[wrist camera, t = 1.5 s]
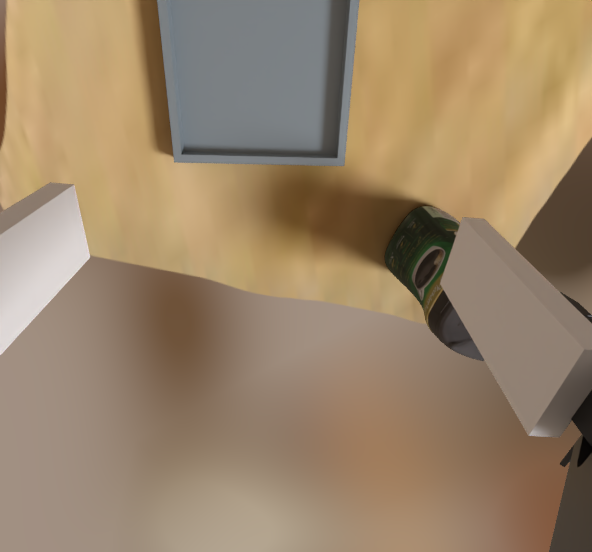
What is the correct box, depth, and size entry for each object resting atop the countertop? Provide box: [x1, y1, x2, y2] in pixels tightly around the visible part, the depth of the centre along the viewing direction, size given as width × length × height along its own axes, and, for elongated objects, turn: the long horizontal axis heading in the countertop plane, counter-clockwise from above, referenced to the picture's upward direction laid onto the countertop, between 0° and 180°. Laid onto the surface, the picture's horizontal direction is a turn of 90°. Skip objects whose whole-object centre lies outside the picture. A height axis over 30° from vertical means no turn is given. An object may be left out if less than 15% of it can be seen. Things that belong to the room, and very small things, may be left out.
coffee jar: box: [385, 206, 485, 361], centre depth 41 cm, size 10×8×19 cm
